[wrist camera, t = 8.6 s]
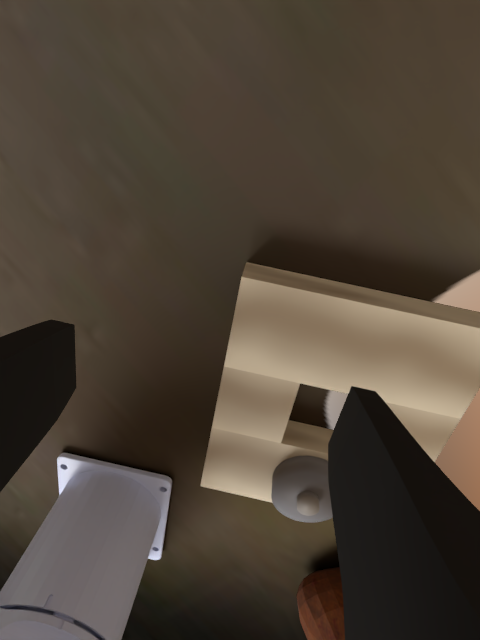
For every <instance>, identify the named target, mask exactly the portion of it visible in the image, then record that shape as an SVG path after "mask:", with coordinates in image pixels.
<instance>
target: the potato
mask: <svg viewBox="0 0 480 640" xmlns="http://www.w3.org/2000/svg"><path fill="white" fill-rule="evenodd" d="M297 602H298V609H299V617H300V622H301V625H302V627H303V629H304V632H305V634H306V637H307V639H308V640H345V629H344V607H343V592H342V582H341V572H340V567H336V568H330V569H324V570H320V571H316V572H313V573H311V574H310V575H308V576H307V577H306V578H304V579H303V581H302V582H301V584H300V585H299V589H298V592H297Z"/></svg>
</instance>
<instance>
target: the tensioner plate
mask: <svg viewBox="0 0 480 640" xmlns="http://www.w3.org/2000/svg"><path fill="white" fill-rule="evenodd" d="M300 383H301V384H305V385H310V386H314V387H319V388H323V389H328V390H332V391H337V392H342V393H346V394H349V391H350V389H351V386H354V387H359V388H363V389H368V390H372V391H376V392H377V393H378V395H379V396H380V397H381V398H382V399H383V400H384V402H385V403H386V404H387V405H388V406H389V408H390V409H391V410H392V411H393V413H394V414H395V415H396V416H397V418H398V419H399V420H400V421H401V423H402V424H403V425H404V426H405V428H406V429H407V430H408V431H409V433H410V434H411V435H412V436H413V437H414V439H415V440H416V441H417V442H418V444H419V445H420V446H421V447H422V448H423V450H424V451H425V452H426V453H427V454H428V455H429V457H430V458H431V459H432V460H433V461H434V462H435V460H436V459H437V457H438V456H439V454H440V452H441V451H442V449H443V447H444V446H445V444H446V442H447V441H448V439H449V438H450V436H451V434H452V433H453V431H454V429H455V428H456V426H457V424H458V423H459V421H460V419H461V418H462V416H463V415H464V413H465V411H466V410H467V408H468V406H469V405H470V403H471V401H472V400H473V398H474V396H475V395H476V393H477V391H478V390H479V388H480V312H476V311H471V310H467V309H462V308H457V307H452V306H448V305H443V304H439V303H434V302H430V301H425V300H420V299H416V298H411V297H406V296H402V295H397V294H392V293H388V292H383V291H378V290H374V289H369V288H365V287H360V286H355V285H351V284H346V283H341V282H337V281H332V280H327V279H323V278H318V277H314V276H309V275H304V274H300V273H295V272H290V271H286V270H281V269H276V268H272V267H267V266H262V265H258V264H253V263H249V262H246V265H245V268H244V271H243V274H242V277H241V282H240V287H239V293H238V298H237V303H236V308H235V313H234V318H233V323H232V328H231V333H230V338H229V343H228V348H227V353H226V358H225V363H224V368H223V374H222V379H221V384H220V389H219V394H218V399H217V404H216V409H215V414H214V419H213V424H212V429H211V434H210V439H209V444H208V449H207V455H206V460H205V465H204V470H203V475H202V480H201V485H200V486H202V487H206V488H211V489H215V490H219V491H224V492H228V493H233V494H237V495H241V496H246V497H250V498H254V499H259V500H263V501H268V502H272V503H273V504H274V506H275V507H276V509H277V510H278V511H279V512H280V513H282V514H283V515H285V516H286V517H288V518H291V519H293V520H296V521H301V522H321V521H325V520H328V519H330V518H332V517H333V514H332V507H331V499H330V491H329V483H328V443H329V441H330V438H331V436H332V433H333V431H334V430H331V429H327V428H322V427H318V426H313V425H309V424H305V423H300V422H296V421H291V420H289V417H290V414H291V410H292V407H293V404H294V401H295V398H296V395H297V392H298V389H299V386H300Z"/></svg>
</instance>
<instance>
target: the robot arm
mask: <svg viewBox="0 0 480 640" xmlns="http://www.w3.org/2000/svg"><path fill="white" fill-rule="evenodd" d="M75 389H76V364H75V330H74V325H73V324H69V323H64V322H60V321H55V320H48V321H45V322H41V323H38V324H35V325H32V326H30V327H27V328H24V329H21V330H19V331H16V332H13V333H10V334H8V335H5V336H2V337H0V492H1V490H2V489H3V488H4V487H5V485H6V484H7V483H8V482H9V480H10V479H11V478H12V477H13V475H14V474H15V473H16V472H17V470H18V469H19V468H20V467H21V465H22V464H23V463H24V461H25V460H26V459H27V458H28V456H29V455H30V454H31V453H32V451H33V450H34V449H35V448H36V446H37V445H38V444H39V443H40V441H41V440H42V439H43V437H44V436H45V435H46V434H47V432H48V431H49V430H50V429H51V427H52V426H53V425H54V423H55V422H56V421H57V419H58V418H59V416H60V414H61V413H62V411H63V409H64V408H65V406H66V404H67V403H68V401H69V399H70V397H71V396H72V394H73V392H74V390H75ZM57 467H58V482H59V497H58V499H57V501H56V502H55V504H54V505H53V507H52V509H51V510H50V512H49V514H48V515H47V517H46V518H45V520H44V522H43V523H42V525H41V527H40V528H39V530H38V531H37V533H36V535H35V536H34V538H33V539H32V541H31V543H30V544H29V546H28V548H27V549H26V551H25V552H24V554H23V556H22V557H21V559H20V560H19V562H18V564H17V565H16V567H15V569H14V570H13V572H12V573H11V575H10V577H9V578H8V580H7V582H6V583H5V585H4V586H3V588H2V590H1V591H0V640H121V638H122V635H123V632H124V629H125V626H126V623H127V620H128V617H129V614H130V611H131V608H132V605H133V602H134V599H135V596H136V593H137V590H138V587H139V584H140V581H141V577H142V574H143V571H144V568H145V565H146V562H147V559H152V560H159V559H160V558H161V556H162V551H163V544H164V537H165V530H166V523H167V516H168V509H169V502H170V495H171V488H172V479H171V478H170V477H169V476H166V475H161V474H157V473H153V472H148V471H144V470H139V469H135V468H131V467H126V466H122V465H117V464H113V463H109V462H104V461H100V460H96V459H91V458H87V457H82V456H78V455H74V454H69V453H61V454H60V455H59V456H58V458H57ZM328 483H329V491H330V499H331V507H332V514H333V522H334V529H335V536H336V543H337V551H338V558H339V565H340V572H341V582H342V592H343V607H344V629H345V640H480V511H479V510H478V509H477V508H476V507H475V506H474V505H473V504H472V503H471V502H470V501H469V500H468V499H467V498H466V497H465V496H464V495H463V493H462V492H461V491H460V490H459V489H458V488H457V487H456V486H455V485H454V484H453V483H452V482H451V480H450V479H449V478H448V477H447V476H446V475H445V474H444V473H443V472H442V471H441V469H440V468H439V467H438V466H437V465H436V464H435V462H434V461H433V460H432V459H431V458H430V457H429V455H428V454H427V453H426V452H425V451H424V450H423V448H422V447H421V446H420V445H419V444H418V442H417V441H416V440H415V439H414V437H413V436H412V435H411V434H410V433H409V431H408V430H407V429H406V428H405V426H404V425H403V424H402V423H401V421H400V420H399V419H398V418H397V416H396V415H395V414H394V413H393V411H392V410H391V409H390V408H389V406H388V405H387V404H386V403H385V402H384V400H383V399H382V398H381V397H380V396H379V395H378V393H377V392H376V391H372V390H368V389H363V388H359V387H354V386H351V389H350V391H349V394H348V396H347V399H346V402H345V404H344V406H343V409H342V411H341V413H340V416H339V418H338V421H337V423H336V426H335V428H334V431H333V433H332V436H331V438H330V441H329V443H328Z"/></svg>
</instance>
